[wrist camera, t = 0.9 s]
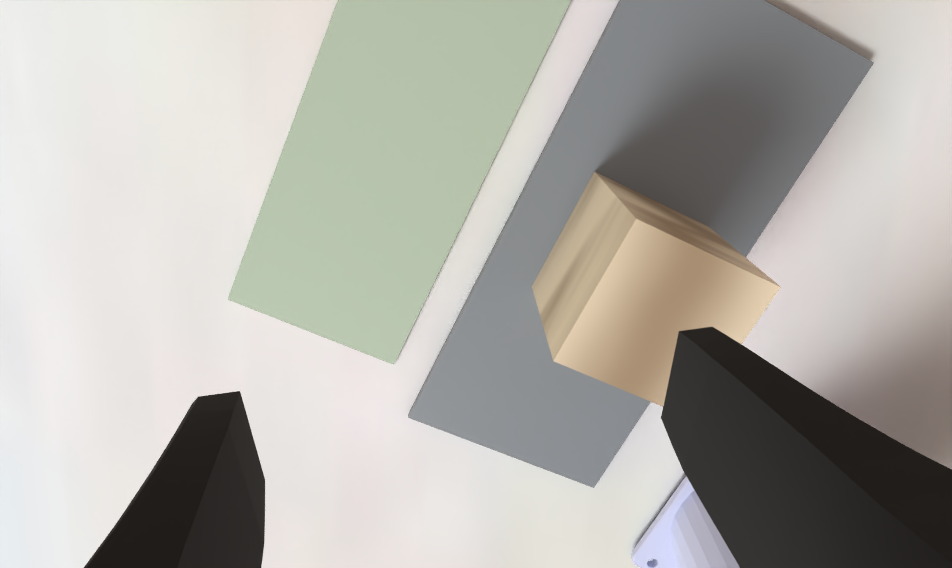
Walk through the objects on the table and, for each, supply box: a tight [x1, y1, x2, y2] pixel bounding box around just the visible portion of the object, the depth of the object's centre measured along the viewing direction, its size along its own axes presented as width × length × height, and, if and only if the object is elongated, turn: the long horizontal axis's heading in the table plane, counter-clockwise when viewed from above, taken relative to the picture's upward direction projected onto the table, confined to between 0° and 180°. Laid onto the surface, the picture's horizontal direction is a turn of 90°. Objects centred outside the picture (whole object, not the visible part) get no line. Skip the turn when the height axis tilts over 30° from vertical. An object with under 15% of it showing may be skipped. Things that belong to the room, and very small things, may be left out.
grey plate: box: [408, 0, 874, 488], centre depth 26 cm, size 9×20×1 cm, turn 154°
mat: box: [228, 0, 571, 365], centre depth 24 cm, size 7×16×1 cm, turn 155°
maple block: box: [532, 172, 781, 406], centre depth 23 cm, size 5×5×6 cm
